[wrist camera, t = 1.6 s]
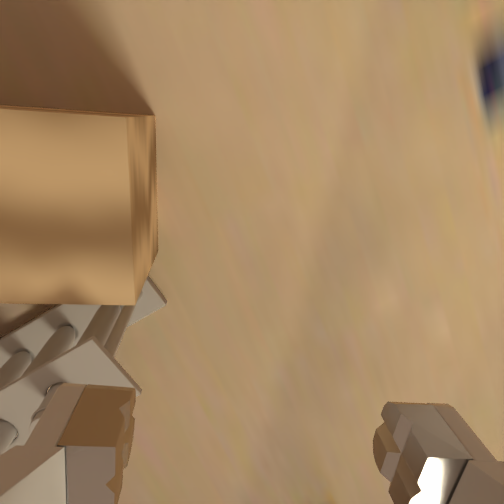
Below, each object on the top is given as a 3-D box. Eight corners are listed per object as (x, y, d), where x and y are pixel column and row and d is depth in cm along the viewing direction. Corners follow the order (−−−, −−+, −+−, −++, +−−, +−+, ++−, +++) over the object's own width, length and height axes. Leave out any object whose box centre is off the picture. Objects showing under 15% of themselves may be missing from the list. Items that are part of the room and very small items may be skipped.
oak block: (-63, 100, 24) (-209, 94, 16) (155, 115, 26) (126, 117, 17) (-32, 244, 28) (-140, 301, 19) (158, 250, 29) (135, 305, 21)
